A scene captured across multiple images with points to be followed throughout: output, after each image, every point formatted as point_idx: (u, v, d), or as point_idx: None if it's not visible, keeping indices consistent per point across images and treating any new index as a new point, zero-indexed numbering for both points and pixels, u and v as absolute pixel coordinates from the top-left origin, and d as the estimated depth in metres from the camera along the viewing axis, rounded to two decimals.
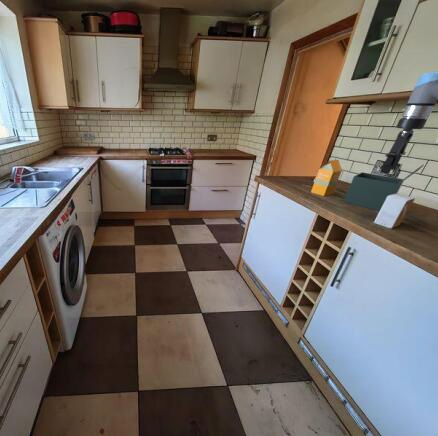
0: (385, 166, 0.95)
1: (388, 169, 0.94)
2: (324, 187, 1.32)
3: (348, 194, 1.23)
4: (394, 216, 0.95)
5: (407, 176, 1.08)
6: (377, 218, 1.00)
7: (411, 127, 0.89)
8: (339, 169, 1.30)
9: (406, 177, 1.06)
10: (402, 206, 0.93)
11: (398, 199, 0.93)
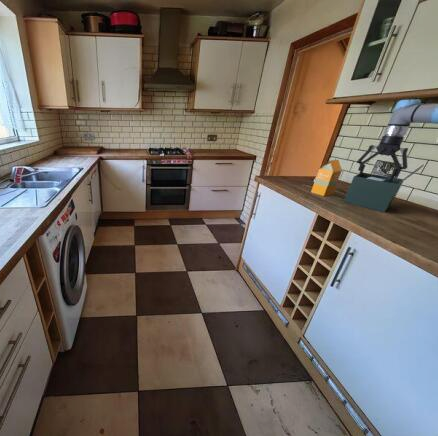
0: (393, 177, 1.13)
1: (392, 178, 1.14)
2: (324, 187, 1.32)
3: (348, 194, 1.23)
4: None
5: (407, 176, 1.08)
6: None
7: None
8: (339, 169, 1.30)
9: (406, 177, 1.06)
10: None
11: None
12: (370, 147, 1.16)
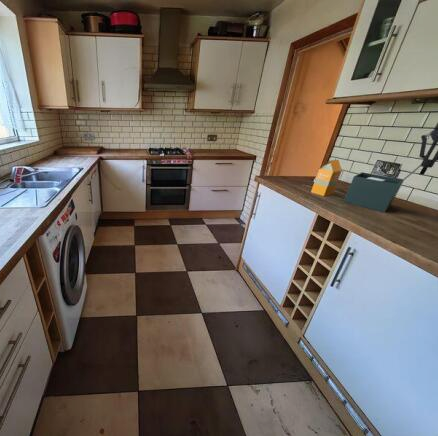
0: (426, 168, 1.04)
1: None
2: (324, 187, 1.32)
3: (348, 194, 1.23)
4: None
5: None
6: None
7: None
8: (339, 169, 1.30)
9: (405, 177, 1.06)
10: None
11: None
12: (423, 137, 1.02)
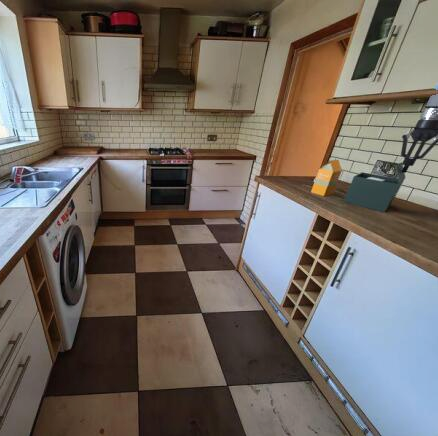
0: (408, 167, 1.08)
1: (407, 168, 1.09)
2: (324, 187, 1.32)
3: (348, 194, 1.23)
4: None
5: None
6: None
7: None
8: (339, 169, 1.30)
9: (398, 176, 1.08)
10: None
11: None
12: (404, 137, 1.07)
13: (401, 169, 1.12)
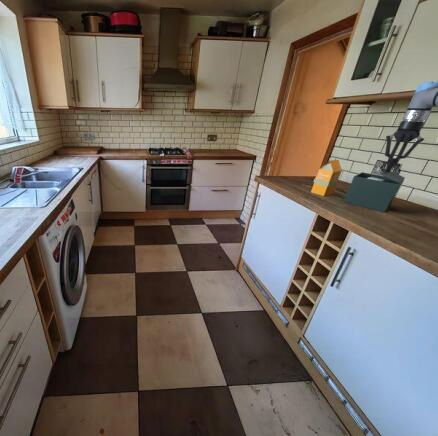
0: (392, 166, 1.12)
1: (391, 168, 1.14)
2: (324, 187, 1.32)
3: (348, 194, 1.23)
4: None
5: None
6: None
7: None
8: (339, 169, 1.30)
9: (393, 179, 1.09)
10: None
11: None
12: (387, 137, 1.11)
13: (391, 173, 1.15)
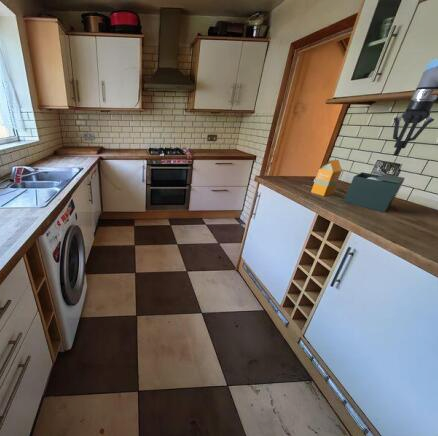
0: (400, 149, 1.09)
1: (399, 151, 1.10)
2: (324, 187, 1.32)
3: (348, 194, 1.23)
4: None
5: None
6: None
7: None
8: (339, 169, 1.30)
9: None
10: None
11: None
12: (395, 119, 1.07)
13: (389, 176, 1.16)
